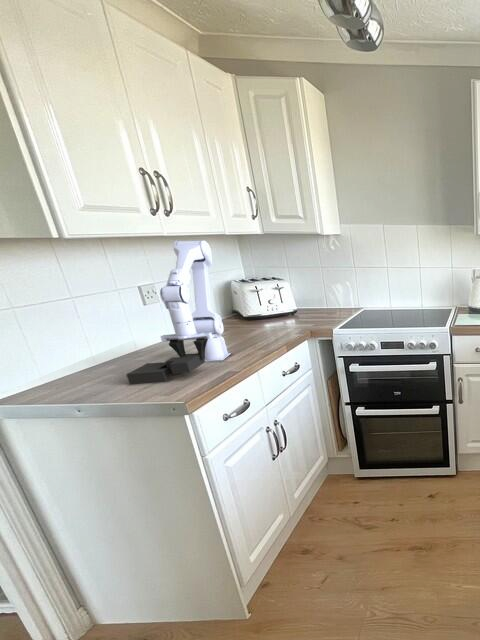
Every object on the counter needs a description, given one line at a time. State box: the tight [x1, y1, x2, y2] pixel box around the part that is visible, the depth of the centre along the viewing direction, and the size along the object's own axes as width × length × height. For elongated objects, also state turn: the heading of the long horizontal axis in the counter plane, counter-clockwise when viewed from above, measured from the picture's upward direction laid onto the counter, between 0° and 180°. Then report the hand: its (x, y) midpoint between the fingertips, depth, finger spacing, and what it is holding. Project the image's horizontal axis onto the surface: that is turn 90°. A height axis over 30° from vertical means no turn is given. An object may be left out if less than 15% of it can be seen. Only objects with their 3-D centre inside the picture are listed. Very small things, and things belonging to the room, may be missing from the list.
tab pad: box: [164, 352, 206, 375], centre depth 141 cm, size 12×8×4 cm, turn 15°
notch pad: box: [126, 361, 173, 385], centre depth 140 cm, size 12×10×4 cm
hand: (193, 359), depth 145 cm, fingers closed on tab pad, 5 cm apart
